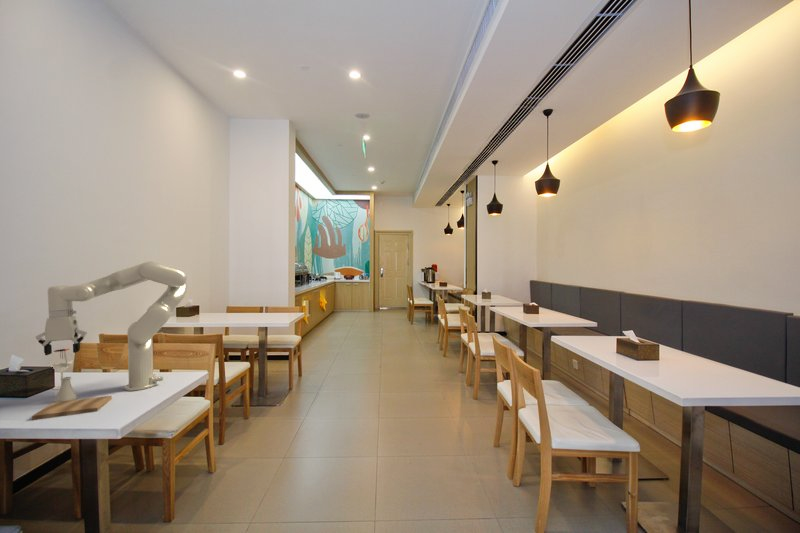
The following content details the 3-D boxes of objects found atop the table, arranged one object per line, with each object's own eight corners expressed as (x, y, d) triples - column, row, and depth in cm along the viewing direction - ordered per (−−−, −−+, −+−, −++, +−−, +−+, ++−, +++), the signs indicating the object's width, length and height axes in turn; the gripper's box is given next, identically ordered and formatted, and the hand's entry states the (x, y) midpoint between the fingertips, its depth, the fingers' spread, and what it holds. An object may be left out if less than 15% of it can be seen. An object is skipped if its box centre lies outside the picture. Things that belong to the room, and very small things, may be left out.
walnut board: (111, 398, 153) (111, 395, 153) (97, 411, 140) (97, 407, 139) (52, 406, 145) (52, 402, 145) (31, 420, 132) (31, 416, 132)
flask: (63, 404, 147) (62, 380, 147) (49, 403, 149) (49, 380, 149) (82, 398, 154) (81, 375, 154) (69, 397, 156) (68, 374, 156)
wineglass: (53, 391, 163) (52, 353, 163) (48, 388, 168) (47, 351, 168) (76, 386, 170) (75, 349, 170) (70, 383, 175) (69, 347, 175)
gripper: (89, 311, 158) (91, 349, 158) (41, 314, 152) (43, 353, 152) (80, 313, 151) (82, 353, 151) (29, 316, 145) (31, 357, 145)
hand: (62, 353), depth 152 cm, fingers open, 9 cm apart
